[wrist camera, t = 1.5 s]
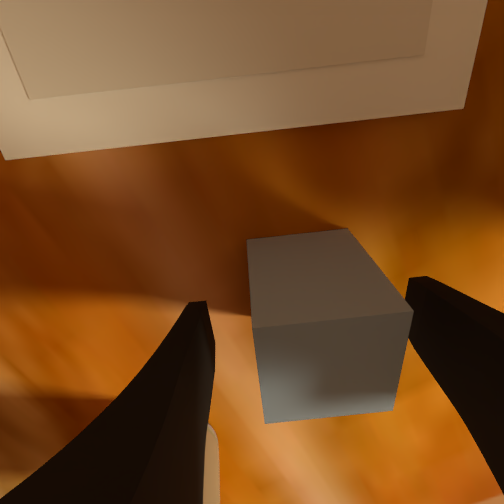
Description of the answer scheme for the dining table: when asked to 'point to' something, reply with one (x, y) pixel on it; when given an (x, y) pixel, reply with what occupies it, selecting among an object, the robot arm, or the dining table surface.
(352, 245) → the block
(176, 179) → the dining table surface
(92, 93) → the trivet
